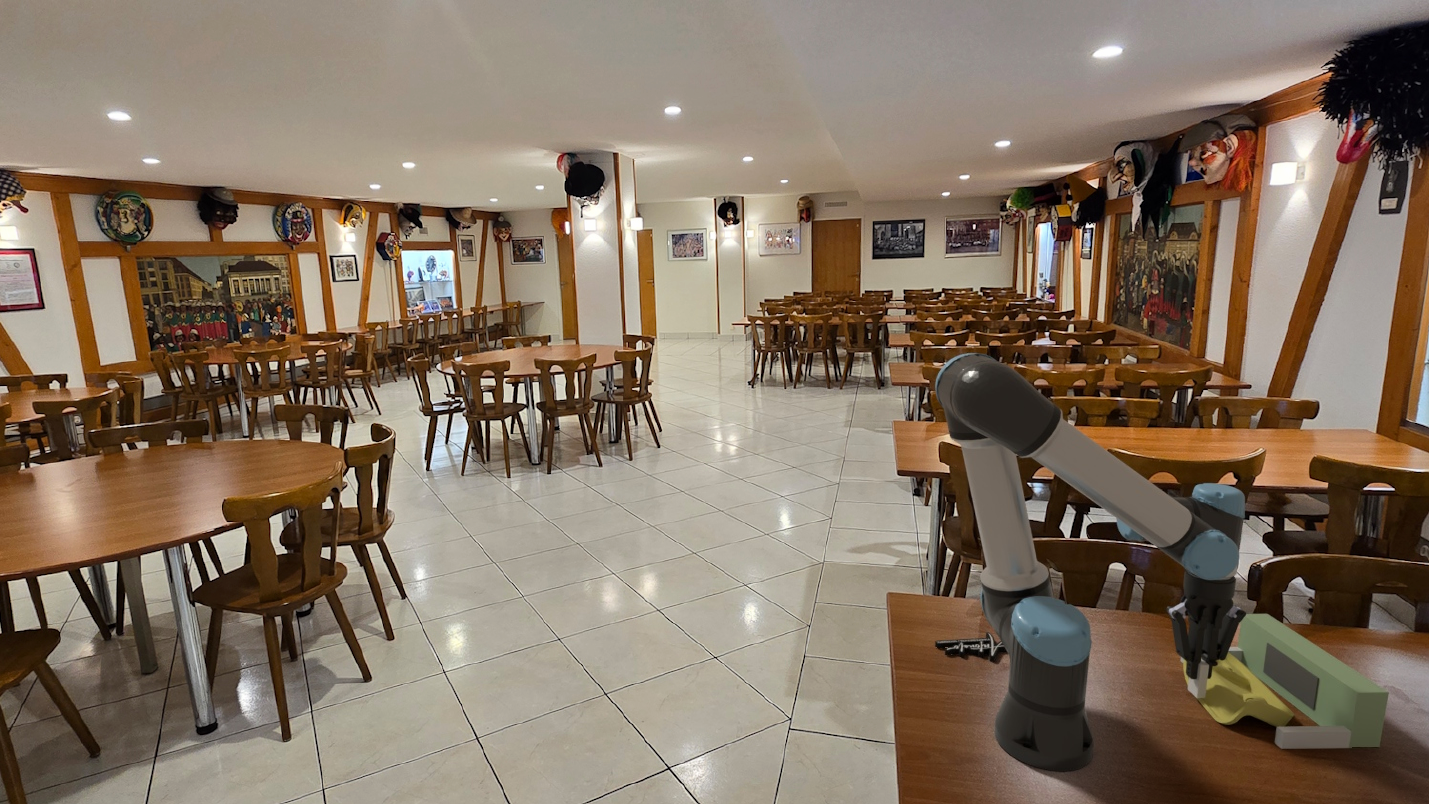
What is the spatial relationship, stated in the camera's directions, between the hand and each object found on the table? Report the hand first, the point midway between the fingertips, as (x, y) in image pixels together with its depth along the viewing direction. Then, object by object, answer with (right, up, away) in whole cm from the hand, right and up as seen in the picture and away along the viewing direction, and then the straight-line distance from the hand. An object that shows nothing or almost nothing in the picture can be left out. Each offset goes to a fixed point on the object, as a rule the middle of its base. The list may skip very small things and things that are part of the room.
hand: (1196, 693), depth 135 cm
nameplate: (-27, +1, +19) cm, 34 cm away
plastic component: (+7, -2, +1) cm, 7 cm away
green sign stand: (+14, -1, 0) cm, 14 cm away
